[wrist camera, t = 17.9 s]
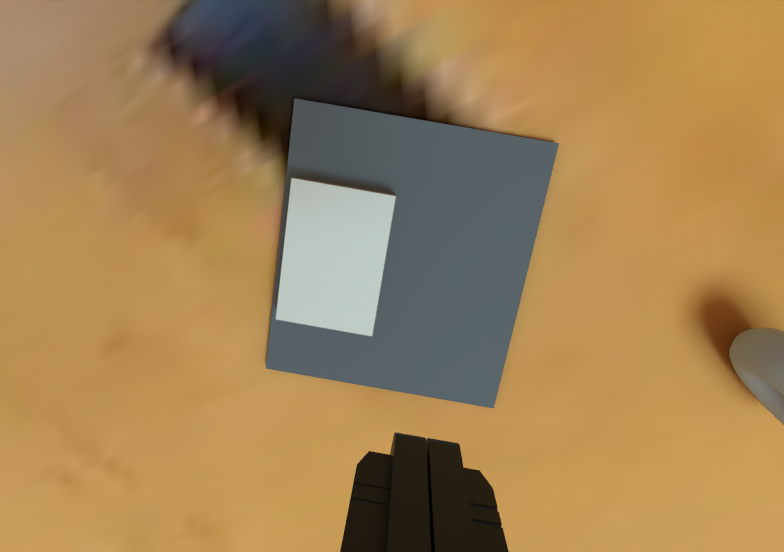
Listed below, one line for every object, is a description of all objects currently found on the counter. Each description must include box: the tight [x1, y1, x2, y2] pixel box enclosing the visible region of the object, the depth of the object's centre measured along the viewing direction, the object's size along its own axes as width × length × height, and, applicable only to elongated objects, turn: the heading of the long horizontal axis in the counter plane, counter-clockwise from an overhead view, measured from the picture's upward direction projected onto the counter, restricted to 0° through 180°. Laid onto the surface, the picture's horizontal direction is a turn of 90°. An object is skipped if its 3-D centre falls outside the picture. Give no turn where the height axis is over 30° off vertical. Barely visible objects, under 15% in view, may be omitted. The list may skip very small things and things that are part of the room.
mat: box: [266, 98, 559, 408], centre depth 32 cm, size 20×18×1 cm
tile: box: [276, 178, 397, 336], centre depth 31 cm, size 10×2×7 cm
